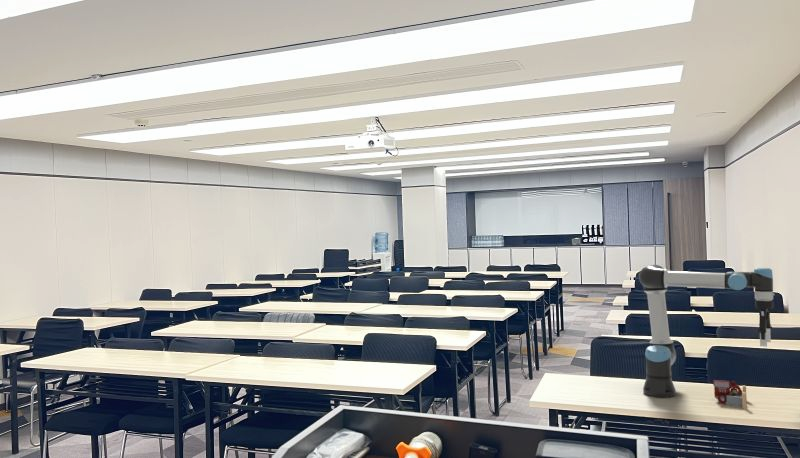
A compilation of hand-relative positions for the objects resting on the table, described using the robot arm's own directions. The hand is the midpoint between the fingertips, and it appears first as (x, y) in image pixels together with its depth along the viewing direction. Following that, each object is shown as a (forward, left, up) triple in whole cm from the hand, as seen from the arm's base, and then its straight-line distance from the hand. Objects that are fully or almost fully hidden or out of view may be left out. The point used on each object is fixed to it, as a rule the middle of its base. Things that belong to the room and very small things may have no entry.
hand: (765, 344), depth 273 cm
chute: (-13, -14, -27) cm, 33 cm away
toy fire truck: (-16, -14, -27) cm, 34 cm away
